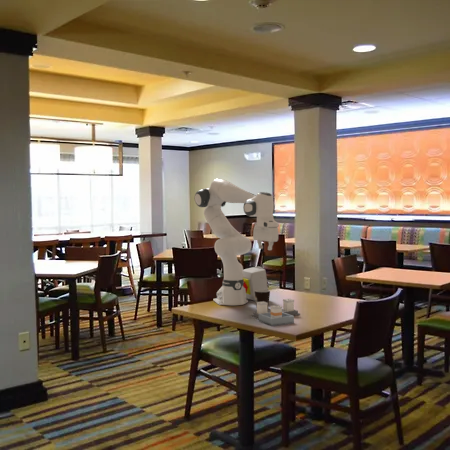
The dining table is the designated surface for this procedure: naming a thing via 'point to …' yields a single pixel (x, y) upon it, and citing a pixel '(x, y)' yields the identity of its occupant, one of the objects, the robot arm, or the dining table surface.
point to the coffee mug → (262, 296)
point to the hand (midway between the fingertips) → (265, 249)
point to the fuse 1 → (262, 307)
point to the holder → (293, 313)
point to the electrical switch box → (254, 281)
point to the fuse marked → (276, 311)
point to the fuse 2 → (288, 304)
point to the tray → (276, 319)
